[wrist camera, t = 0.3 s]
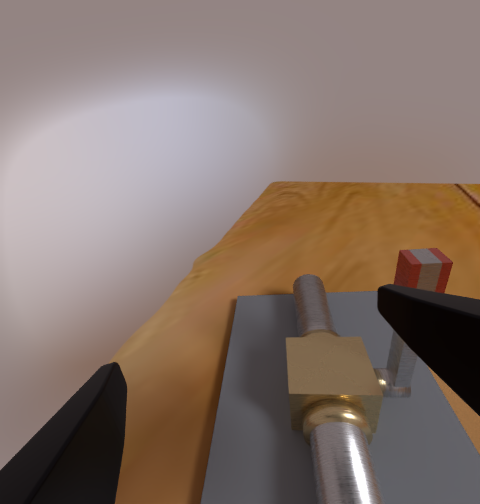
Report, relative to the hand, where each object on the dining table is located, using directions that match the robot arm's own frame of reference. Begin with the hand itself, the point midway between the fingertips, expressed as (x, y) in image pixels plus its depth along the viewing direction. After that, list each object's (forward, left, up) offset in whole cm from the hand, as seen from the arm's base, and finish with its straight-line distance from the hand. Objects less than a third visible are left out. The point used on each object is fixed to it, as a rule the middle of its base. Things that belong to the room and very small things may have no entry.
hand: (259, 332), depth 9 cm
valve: (+5, -7, -16) cm, 18 cm away
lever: (+3, -11, -14) cm, 18 cm away
